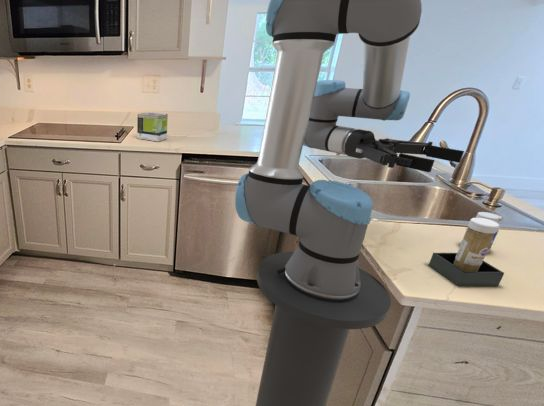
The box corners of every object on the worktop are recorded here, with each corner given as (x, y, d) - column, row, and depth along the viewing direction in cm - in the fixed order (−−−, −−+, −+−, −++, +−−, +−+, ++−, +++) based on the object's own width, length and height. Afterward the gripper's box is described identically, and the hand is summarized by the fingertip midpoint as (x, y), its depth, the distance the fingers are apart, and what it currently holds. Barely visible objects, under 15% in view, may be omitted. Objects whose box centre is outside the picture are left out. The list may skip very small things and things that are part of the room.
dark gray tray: (457, 286, 81) (463, 272, 79) (428, 265, 89) (433, 252, 87) (498, 286, 80) (504, 273, 79) (464, 265, 88) (470, 252, 87)
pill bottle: (474, 254, 92) (489, 220, 88) (454, 243, 97) (468, 210, 93) (495, 253, 92) (511, 219, 88) (474, 243, 97) (488, 210, 93)
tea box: (167, 138, 215) (168, 113, 209) (157, 142, 208) (158, 116, 202) (146, 135, 224) (147, 111, 218) (136, 138, 217) (136, 113, 211)
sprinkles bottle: (470, 281, 81) (494, 227, 76) (445, 271, 85) (466, 219, 80) (479, 275, 83) (503, 222, 78) (455, 265, 87) (476, 215, 82)
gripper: (374, 149, 107) (466, 168, 89) (320, 162, 96) (412, 187, 79) (381, 123, 104) (478, 138, 86) (326, 134, 93) (423, 153, 76)
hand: (447, 161), depth 83 cm, fingers open, 13 cm apart
